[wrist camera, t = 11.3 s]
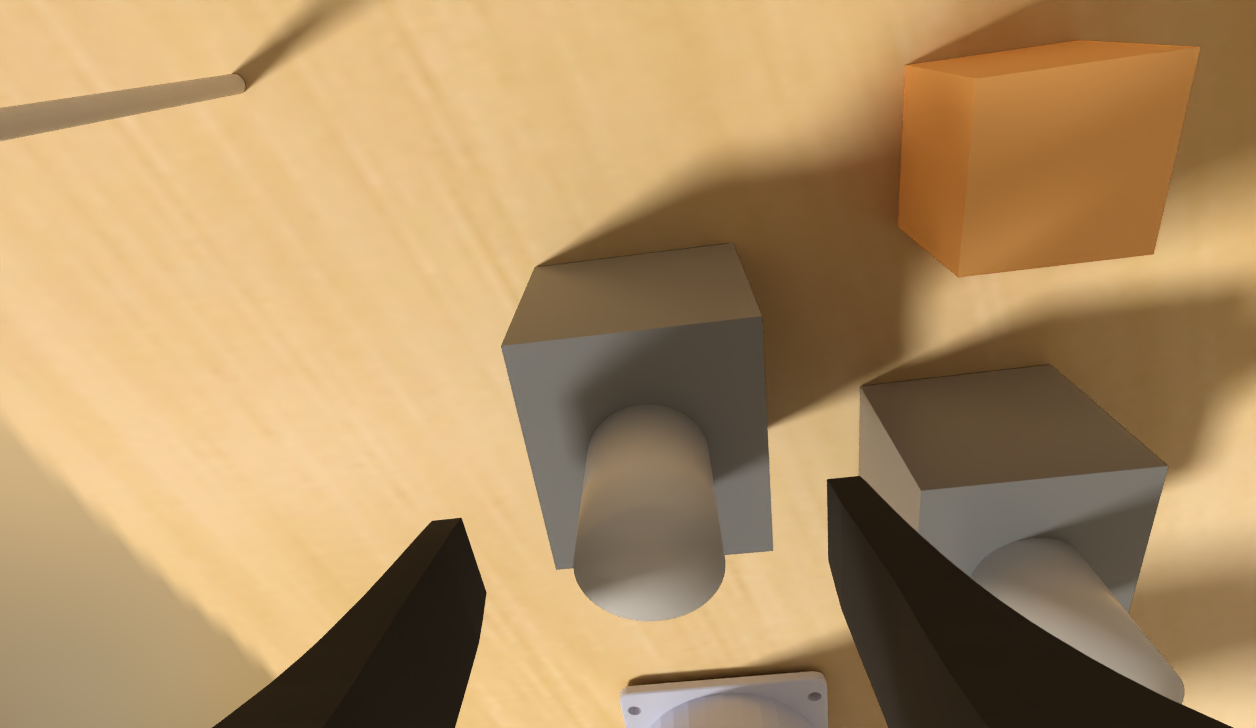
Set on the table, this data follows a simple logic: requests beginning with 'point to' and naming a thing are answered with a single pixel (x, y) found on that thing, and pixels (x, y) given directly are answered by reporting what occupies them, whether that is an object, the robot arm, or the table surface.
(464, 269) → the table surface
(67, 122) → the lollipop
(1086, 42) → the cube
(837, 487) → the robot arm
